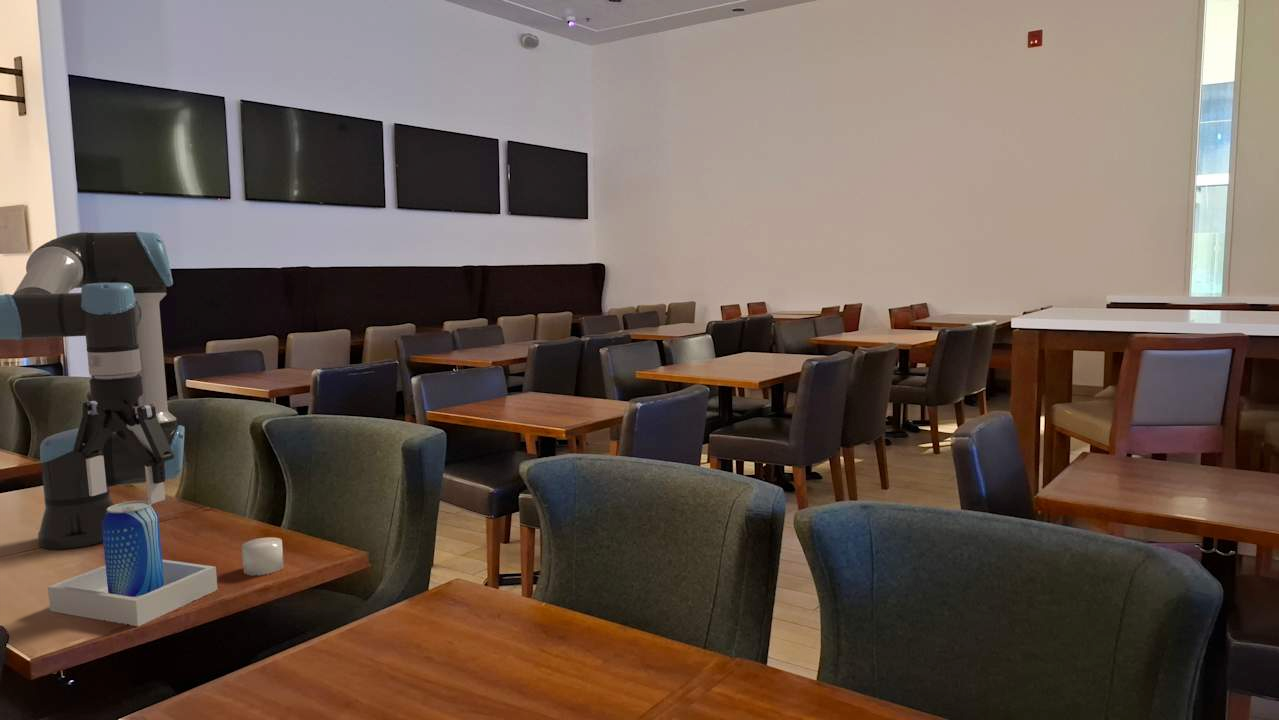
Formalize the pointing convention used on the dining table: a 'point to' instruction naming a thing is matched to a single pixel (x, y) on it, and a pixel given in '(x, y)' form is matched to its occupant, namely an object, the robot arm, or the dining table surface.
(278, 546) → the white pillar candle
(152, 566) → the beer can
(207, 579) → the tray
